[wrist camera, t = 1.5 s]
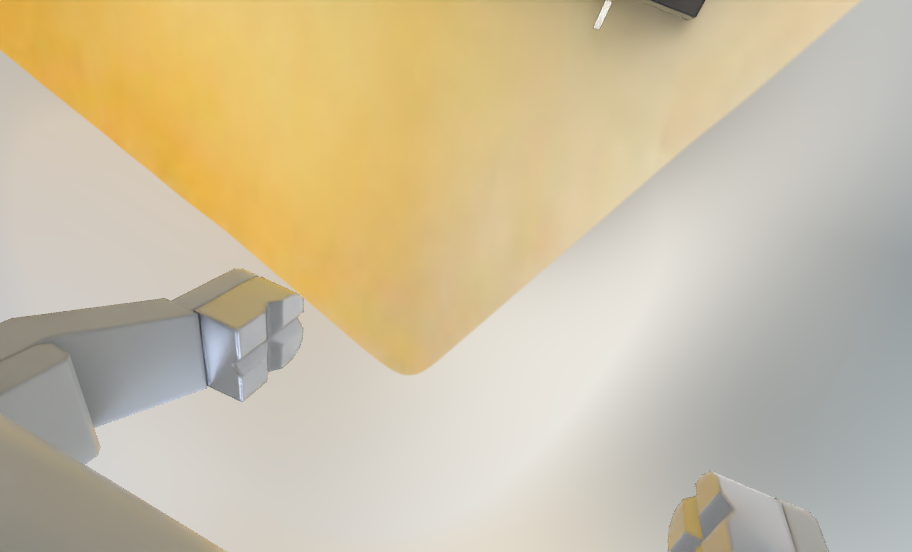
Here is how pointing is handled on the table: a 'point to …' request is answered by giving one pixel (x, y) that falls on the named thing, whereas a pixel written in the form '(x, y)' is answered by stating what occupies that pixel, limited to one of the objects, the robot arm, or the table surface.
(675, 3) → the hot plate
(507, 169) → the table surface
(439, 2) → the table surface
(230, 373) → the robot arm
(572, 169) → the table surface
